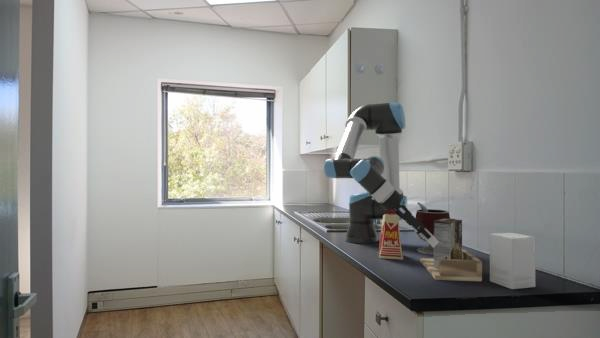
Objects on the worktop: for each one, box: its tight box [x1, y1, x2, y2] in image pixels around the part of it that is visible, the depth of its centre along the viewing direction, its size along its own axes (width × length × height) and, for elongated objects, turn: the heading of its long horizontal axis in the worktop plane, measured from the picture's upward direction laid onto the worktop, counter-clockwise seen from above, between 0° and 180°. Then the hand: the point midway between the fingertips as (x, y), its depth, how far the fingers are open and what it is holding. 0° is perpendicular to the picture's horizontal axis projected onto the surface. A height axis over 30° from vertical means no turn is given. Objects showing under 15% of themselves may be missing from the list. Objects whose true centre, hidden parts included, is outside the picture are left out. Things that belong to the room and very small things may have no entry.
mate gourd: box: [415, 201, 451, 256], centre depth 161 cm, size 16×14×20 cm
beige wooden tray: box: [419, 247, 483, 282], centre depth 131 cm, size 24×14×6 cm, turn 174°
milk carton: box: [378, 210, 404, 260], centre depth 152 cm, size 9×9×20 cm
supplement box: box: [489, 232, 536, 290], centre depth 116 cm, size 9×9×15 cm
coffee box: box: [433, 217, 463, 268], centre depth 131 cm, size 9×6×16 cm
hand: (431, 240), depth 132 cm, fingers open, 13 cm apart
